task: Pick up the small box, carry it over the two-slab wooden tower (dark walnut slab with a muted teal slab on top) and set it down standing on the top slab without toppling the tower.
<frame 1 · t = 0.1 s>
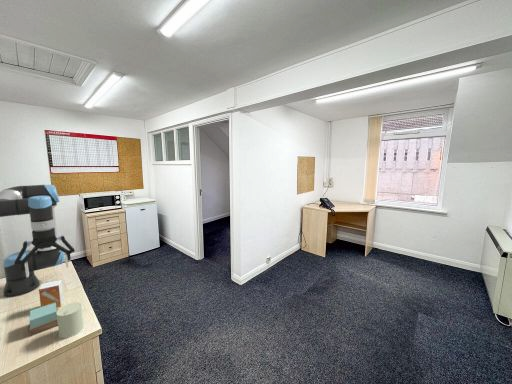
hand: (48, 271, 101), 28 cm above the table, fingers open, 13 cm apart
small box: (52, 306, 117), on the table
bottom slab: (45, 325, 104), on the table
top slab: (44, 318, 103), point 4 cm above the table
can: (71, 330, 101), on the table
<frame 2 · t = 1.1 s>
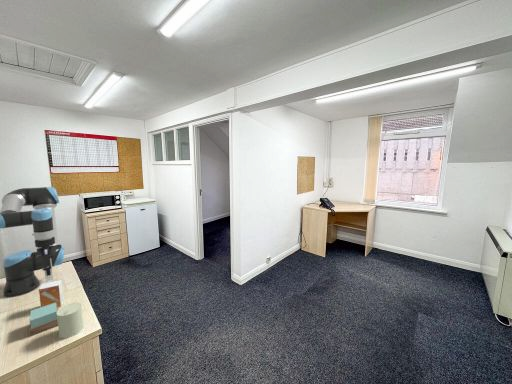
hand: (49, 275, 114), 18 cm above the table, fingers open, 13 cm apart
bottom slab: (45, 325, 104), on the table, touching top slab
top slab: (44, 318, 103), point 4 cm above the table, touching bottom slab
everything else where it was.
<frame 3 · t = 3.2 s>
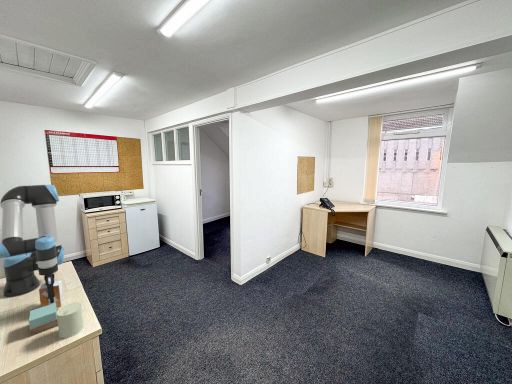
hand: (52, 303, 117), 1 cm above the table, fingers closed on small box, 7 cm apart
small box: (52, 306, 117), on the table, touching gripper
everything else where it was.
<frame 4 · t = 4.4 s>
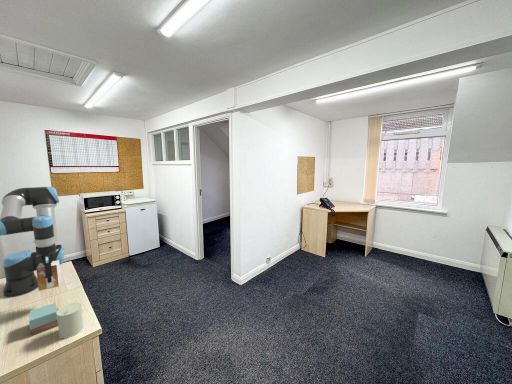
hand: (50, 283, 116), 13 cm above the table, fingers closed on small box, 7 cm apart
small box: (50, 286, 116), point 12 cm above the table, touching gripper
everything else where it was.
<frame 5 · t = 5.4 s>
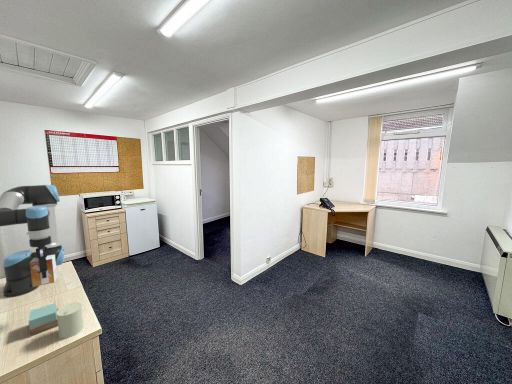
hand: (45, 280, 107), 20 cm above the table, fingers closed on small box, 7 cm apart
small box: (45, 282, 108), point 18 cm above the table, touching gripper
everything else where it was.
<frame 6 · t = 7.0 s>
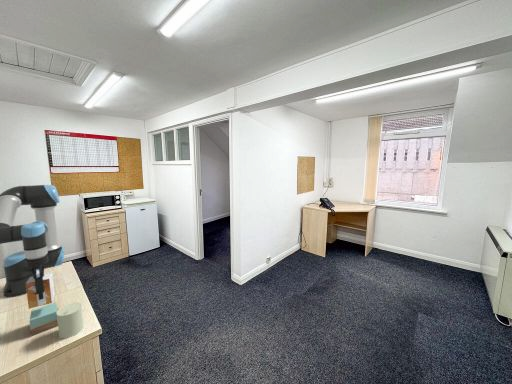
hand: (42, 300, 102), 13 cm above the table, fingers closed on small box, 7 cm apart
small box: (42, 303, 102), point 12 cm above the table, touching gripper
everything else where it was.
when the fingers open (10 cm above the table, at t = 7.9 s): small box drops 1 cm, resting on top slab.
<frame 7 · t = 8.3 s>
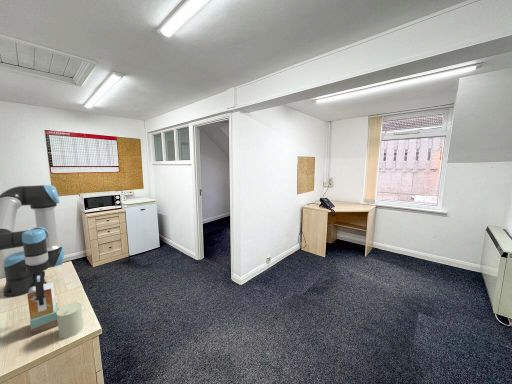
hand: (42, 303, 102), 12 cm above the table, fingers open, 12 cm apart
small box: (43, 312, 102), point 7 cm above the table, touching top slab
top slab: (45, 318, 103), point 4 cm above the table, touching bottom slab, small box
everything else where it was.
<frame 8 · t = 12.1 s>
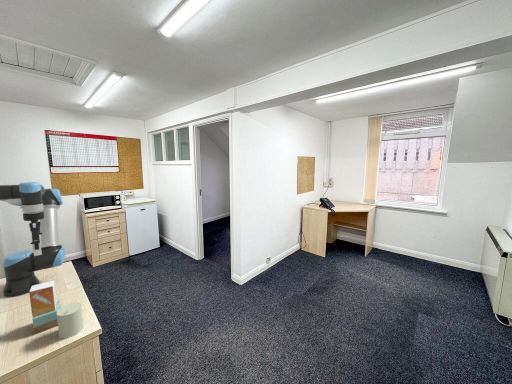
hand: (38, 250, 112), 33 cm above the table, fingers open, 13 cm apart
small box: (45, 310, 103), point 7 cm above the table, touching top slab
bottom slab: (48, 324, 105), on the table
top slab: (47, 316, 104), point 4 cm above the table, touching small box
everything else where it was.
at the end: small box inside the target area on the top slab (0.5 cm from its centre), point 3.8 cm above the top slab's base; small box tilted 0°; top slab tilted 0° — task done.
